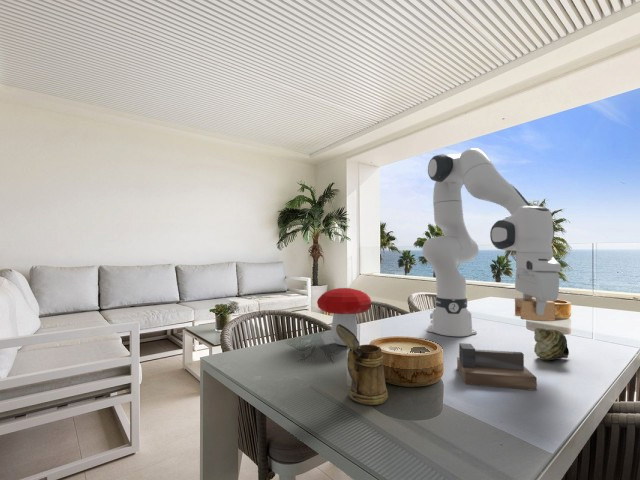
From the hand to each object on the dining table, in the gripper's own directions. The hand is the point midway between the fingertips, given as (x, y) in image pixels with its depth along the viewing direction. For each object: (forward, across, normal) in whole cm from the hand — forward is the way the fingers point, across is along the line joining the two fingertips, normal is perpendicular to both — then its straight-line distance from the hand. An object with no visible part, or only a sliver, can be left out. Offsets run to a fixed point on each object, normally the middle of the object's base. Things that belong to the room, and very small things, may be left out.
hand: (534, 312), depth 94 cm
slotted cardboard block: (+2, 0, 0) cm, 2 cm away
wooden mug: (+17, +28, -46) cm, 56 cm away
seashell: (+17, -10, +9) cm, 22 cm away
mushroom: (+17, -14, -56) cm, 60 cm away
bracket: (+16, +8, -13) cm, 22 cm away
